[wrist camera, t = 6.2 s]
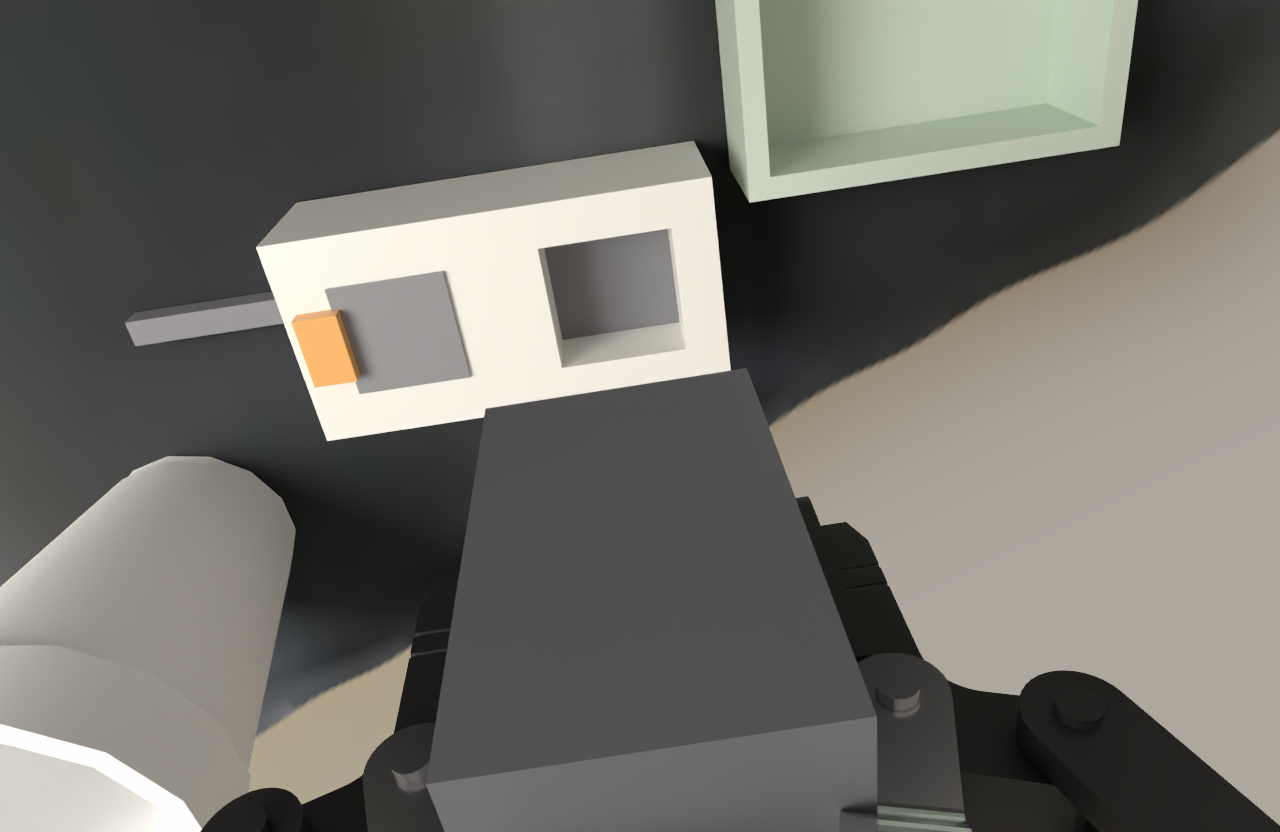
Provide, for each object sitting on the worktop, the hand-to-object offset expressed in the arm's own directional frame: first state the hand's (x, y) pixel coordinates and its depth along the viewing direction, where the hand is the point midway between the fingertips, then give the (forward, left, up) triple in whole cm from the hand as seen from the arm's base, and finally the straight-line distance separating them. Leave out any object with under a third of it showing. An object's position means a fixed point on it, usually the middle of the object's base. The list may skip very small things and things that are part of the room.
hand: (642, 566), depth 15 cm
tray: (-7, +9, -16) cm, 19 cm away
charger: (0, 0, -3) cm, 3 cm away
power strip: (0, -6, -16) cm, 17 cm away
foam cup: (+8, -16, -16) cm, 24 cm away
